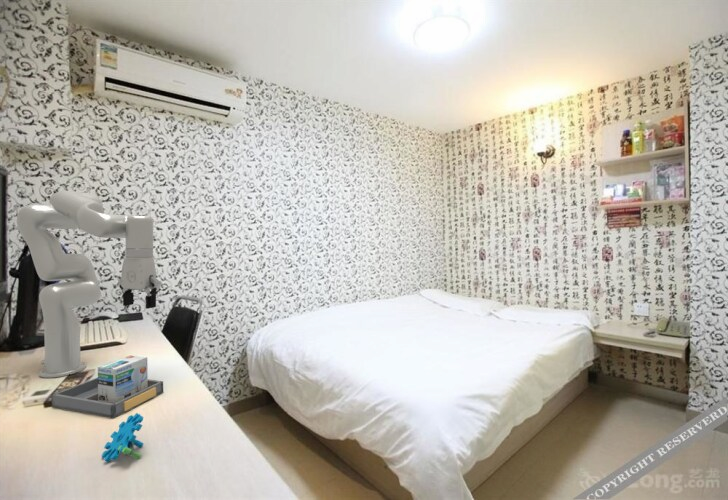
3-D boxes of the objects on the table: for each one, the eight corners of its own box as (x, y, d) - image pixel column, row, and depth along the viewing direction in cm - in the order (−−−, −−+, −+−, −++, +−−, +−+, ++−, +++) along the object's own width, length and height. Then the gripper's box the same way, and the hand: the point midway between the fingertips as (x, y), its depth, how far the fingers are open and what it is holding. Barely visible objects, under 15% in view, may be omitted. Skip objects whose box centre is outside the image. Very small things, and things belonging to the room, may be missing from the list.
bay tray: (52, 407, 97) (51, 394, 97) (107, 384, 113) (107, 373, 113) (114, 418, 91) (114, 405, 91) (164, 392, 107) (164, 381, 107)
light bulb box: (115, 408, 95) (114, 369, 95) (96, 405, 97) (95, 366, 96) (149, 391, 105) (148, 356, 105) (131, 389, 107) (130, 354, 107)
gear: (100, 440, 79) (137, 403, 82) (122, 450, 82) (157, 414, 85) (98, 474, 70) (139, 431, 73) (123, 484, 73) (162, 442, 76)
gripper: (108, 253, 111) (108, 306, 112) (149, 255, 106) (149, 311, 106) (130, 252, 118) (130, 302, 119) (170, 254, 113) (169, 306, 114)
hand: (139, 306), depth 113 cm, fingers open, 9 cm apart
